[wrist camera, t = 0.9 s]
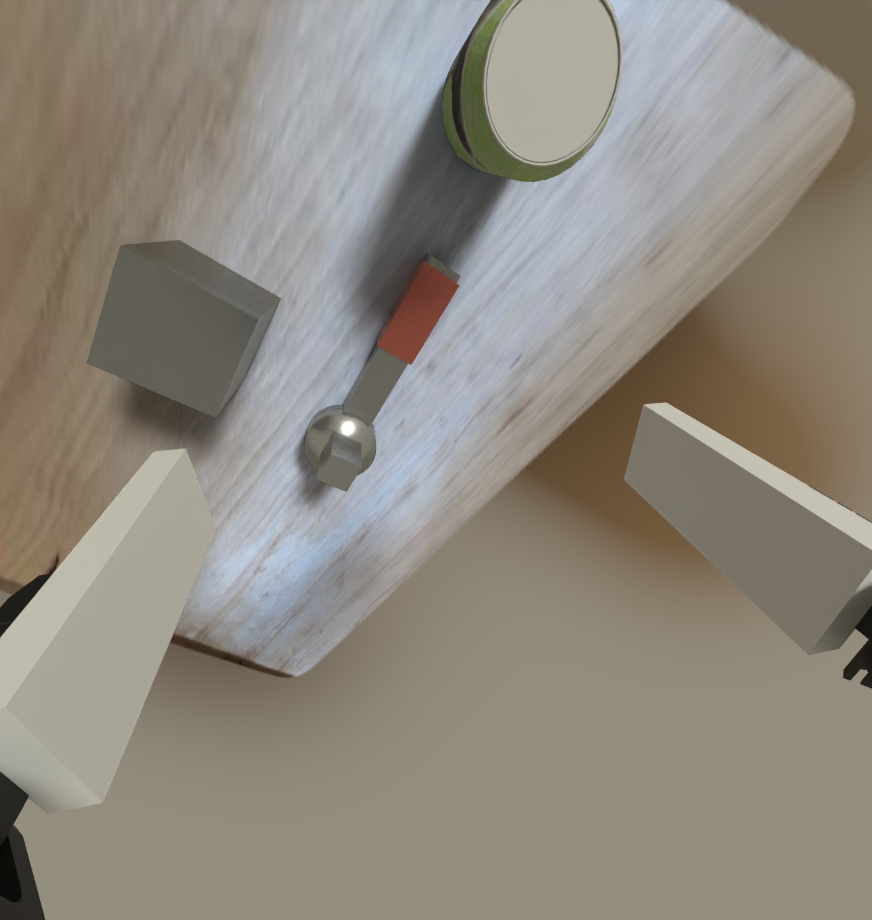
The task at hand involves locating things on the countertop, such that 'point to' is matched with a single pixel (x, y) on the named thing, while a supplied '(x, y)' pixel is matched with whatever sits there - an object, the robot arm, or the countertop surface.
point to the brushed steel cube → (180, 324)
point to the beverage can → (533, 86)
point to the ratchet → (378, 378)
